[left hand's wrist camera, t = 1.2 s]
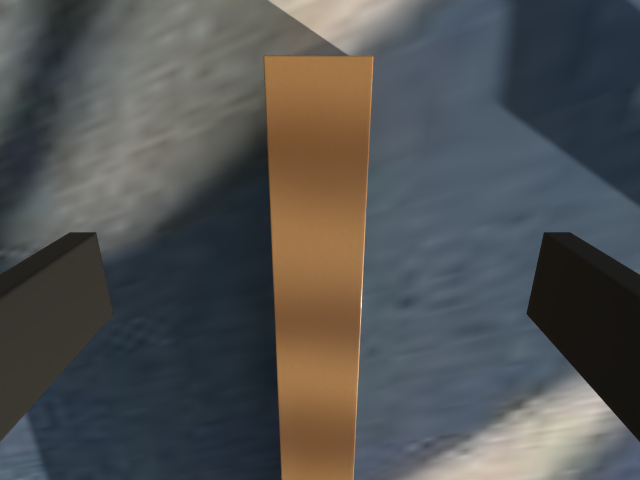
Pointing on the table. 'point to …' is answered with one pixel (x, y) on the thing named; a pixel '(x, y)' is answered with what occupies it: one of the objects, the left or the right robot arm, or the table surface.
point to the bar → (317, 253)
